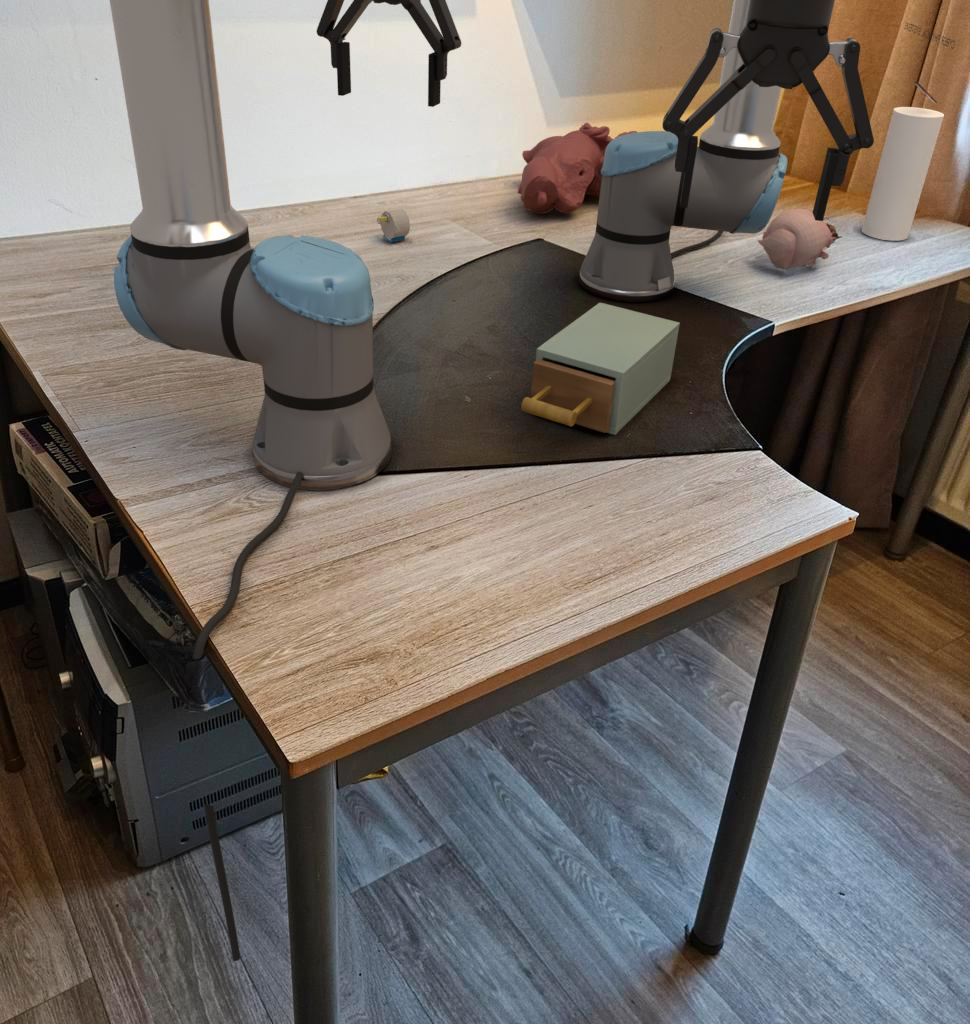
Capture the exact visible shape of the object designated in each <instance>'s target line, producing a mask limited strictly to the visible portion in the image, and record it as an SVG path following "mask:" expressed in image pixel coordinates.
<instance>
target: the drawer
mask: <svg viewBox="0 0 970 1024" xmlns="http://www.w3.org/2000/svg"><path fill="white" fill-rule="evenodd" d="M615 380H616V378H614V377H610V376H607V375H603V374H600V373H596V372H593V371H589V370H586V369H582V368H579V367H575V366H572V365H568V364H565V363H561V362H558V361H554V360H551V359H550V360H549V362H547V361H543V360H540V359H538V360H536V359H535V360H534V362H533V366H532V377H531V389H530V397H529V396H526V397H524V398H523V400H522V402H521V405H520V411H521V412H523V413H526V414H529V415H530V414H531V415H533V416H537V417H539V418H542V419H546V420H549V421H552V422H555V423H558V424H562V425H564V426H568V427H571V428H572V427H573V426H574V425H579V426H581V427H584V428H588V429H591V430H594V431H597V432H600V433H603V434H606V432H607V431H608V430H609V427H610V419H611V412H612V404H613V397H614V389H615Z"/></svg>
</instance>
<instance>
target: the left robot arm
mask: <svg viewBox="0 0 970 1024" xmlns="http://www.w3.org/2000/svg"><path fill="white" fill-rule="evenodd" d="M344 2H345V0H326V3H325V5H324V9H323V12H322V14H321V17H320V20H319V22H318V25H317V27H316V35H317V36H318V37H320V38H324V39H326V40H327V41H328V42H329V44H330V63H331V64H330V65H331V67H332V68H333V69H336V77H337V78H336V79H337V96H342V97H344V96H346V95H349V94H351V93H352V78H351V77H352V74H351V73H352V72H351V44H350V41H346V37H347V35H348V34H349V32H351V30H352V29H353V27H354V26H355V24H356V23H357V22H358V20H359V19H360V17H361V16H362V15H363V13H364V11H365V10H366V9H367V8H368V6H369V5H370V4H371V3H372V2H373V4H384V3H386V4H387V5H390V6H397V5H401V6H402V7H403V8H404V10H406V11H407V12H408V14H409V15H410V17H411V18H412V20H413V21H414V24H416V26H417V28H418V29H419V31H420V32H421V33H422V35H423V37H424V38H425V39H426V41H427V43H428V44H429V46H430V47H431V49H432V50H433V52H431V53H429V54H428V58H427V59H428V65H427V66H428V67H427V68H428V69H427V71H428V72H427V75H428V76H427V77H428V79H427V107H430V108H434V107H435V106H437V105H440V104H441V87H442V85H441V82H442V81H443V80H445V79H447V76H448V54H449V53H450V52H451V51H455V50H456V49H460V48H461V47H462V39H461V36H460V34H459V32H458V30H457V27H456V23H455V22H454V19H453V16H452V14H451V11H450V9H449V8H450V7H449V6H448V3H447V1H446V0H428V2H429V4H430V7H431V10H432V12H433V14H434V18H435V20H436V23H437V25H438V26H437V25H436V24H435V22H434V20H433V19H432V17H431V16H430V15H429V13H428V12H427V10H426V8H425V6H423V4H422V1H421V0H353V1H352V2H351V4H349V6H348V8H347V9H346V11H345V12H344V13H343V14H342V17H340V19H339V18H338V17H339V15H340V13H341V10H342V8H343V5H344ZM109 4H110V5H109V7H110V12H111V17H112V24H113V30H114V36H115V42H116V50H117V56H118V62H119V67H120V74H121V81H122V87H123V94H124V99H125V105H126V106H125V107H126V111H127V119H128V125H129V132H130V136H131V144H132V149H133V150H132V151H133V156H134V162H135V169H136V175H137V181H138V182H137V183H138V187H139V188H138V189H139V195H140V200H141V206H142V210H141V211H140V212H139V214H138V215H137V216H136V217H135V218H134V220H133V221H132V222H131V224H130V225H129V231H130V236H128V237H127V238H126V240H124V242H123V243H122V245H121V246H120V248H119V250H118V252H117V256H116V259H117V261H118V262H119V265H117V266H115V267H114V271H113V287H114V293H115V296H116V300H117V304H118V306H119V309H120V312H121V313H122V315H123V317H124V319H125V320H126V322H127V323H128V325H129V326H130V327H131V328H132V329H133V330H134V331H135V332H136V333H137V334H139V335H140V336H142V337H143V338H145V339H147V340H149V341H151V342H155V343H159V344H163V345H165V346H168V347H169V348H171V349H176V350H178V351H179V350H181V351H187V350H189V351H193V352H197V353H203V354H207V355H213V356H218V357H222V358H227V359H231V360H237V361H243V362H248V363H251V364H252V363H253V364H257V365H259V366H261V370H262V379H263V388H264V390H263V391H264V396H263V400H262V404H261V408H260V412H259V415H258V419H257V423H256V427H255V430H254V434H253V439H252V455H253V460H254V464H255V467H256V468H257V470H258V471H259V472H260V473H261V474H262V475H263V476H265V477H266V478H268V479H269V480H271V481H273V482H275V483H278V484H280V485H283V486H286V487H289V488H288V491H287V493H286V494H285V495H286V496H285V497H284V500H283V503H282V505H281V507H280V510H279V512H278V513H277V514H276V516H275V517H274V519H273V520H272V521H271V523H270V524H268V526H266V527H265V528H264V529H263V530H262V531H260V532H259V533H258V534H257V535H256V536H254V537H253V538H252V539H251V540H250V541H249V542H248V543H246V545H245V547H244V548H243V549H242V550H241V552H240V553H239V555H238V557H237V559H236V561H235V563H234V566H233V570H232V575H231V580H230V587H229V591H228V594H227V598H226V600H225V602H224V604H223V605H222V607H221V608H220V609H219V610H218V611H217V612H216V613H214V614H213V615H212V616H211V617H210V618H209V619H208V620H207V622H206V623H205V624H204V625H203V627H202V629H201V631H200V632H199V634H198V636H197V639H196V640H195V645H194V648H193V652H192V656H191V657H192V659H193V660H199V659H201V658H202V657H203V654H204V651H205V647H206V643H207V641H208V639H209V636H210V635H211V633H212V632H213V631H214V629H215V628H216V627H217V626H218V625H219V624H220V623H221V622H222V621H223V620H224V619H225V618H226V617H227V616H228V615H229V613H231V611H232V609H233V607H234V606H235V603H236V601H237V599H238V597H239V592H240V587H241V582H242V574H243V569H244V566H245V564H246V562H247V559H248V558H249V557H250V555H251V553H252V552H253V551H254V550H255V549H257V547H258V546H260V545H261V544H262V543H263V542H264V541H265V540H267V539H268V538H269V537H270V536H271V535H272V534H274V532H276V530H277V529H278V528H279V527H280V526H281V524H282V523H283V522H284V520H285V519H286V517H287V515H288V513H289V511H290V509H291V506H292V503H293V501H294V498H295V496H296V494H297V491H298V489H301V490H312V491H314V490H315V491H323V490H327V491H328V490H337V489H342V488H348V487H351V486H355V485H358V484H361V483H363V482H366V481H368V480H370V479H373V478H374V477H375V476H377V475H378V474H380V473H381V472H382V471H383V470H384V469H385V468H386V467H387V466H388V464H389V463H390V461H391V458H392V436H391V435H392V434H391V432H390V430H389V427H388V424H387V422H386V419H385V417H384V413H383V411H382V408H381V406H380V403H379V400H378V398H377V395H376V393H375V385H374V320H373V319H374V318H373V317H374V315H373V314H374V308H375V301H374V297H373V292H372V283H371V275H370V270H369V267H368V266H367V264H366V263H365V262H364V260H363V259H362V257H360V256H359V254H357V253H356V252H355V251H353V250H352V249H351V248H348V247H346V246H345V245H344V244H340V243H338V242H335V241H332V240H329V239H325V238H322V237H317V236H311V235H301V236H299V237H297V236H293V235H289V234H287V235H279V236H273V237H269V238H265V239H264V240H262V241H260V242H259V243H258V244H257V245H255V247H254V248H253V247H251V239H250V230H249V223H248V220H247V219H246V217H245V216H244V215H242V214H241V213H240V212H238V211H237V210H236V209H235V208H234V207H233V206H232V203H231V195H230V185H229V176H228V167H227V157H226V148H225V139H224V138H225V137H224V131H223V130H224V129H223V119H222V110H221V100H220V92H219V81H218V73H217V63H216V54H215V46H214V44H215V43H214V36H213V26H212V25H213V24H212V17H211V16H212V15H211V9H210V0H109ZM338 19H339V21H338V22H337V20H338ZM203 807H204V814H205V819H206V825H207V830H208V836H209V841H210V846H211V851H212V856H213V861H214V867H215V872H216V876H217V882H218V887H219V891H220V897H221V902H222V907H223V911H224V917H225V922H226V927H227V928H226V929H227V933H228V938H229V944H230V950H231V951H230V952H231V956H232V960H233V962H238V961H239V960H240V959H241V952H240V951H241V950H240V946H239V940H238V932H237V927H236V922H235V916H234V911H233V910H234V909H233V906H232V900H231V895H230V889H229V884H228V879H227V873H226V869H225V863H224V858H223V853H222V848H221V842H220V837H219V832H218V826H217V820H216V813H215V807H214V805H211V804H206V803H204V804H203Z"/></svg>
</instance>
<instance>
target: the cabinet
mask: <svg viewBox="0 0 970 1024" xmlns="http://www.w3.org/2000/svg"><path fill="white" fill-rule="evenodd" d="M680 324H681V323H680V322H678V321H675V320H672V319H671V320H670V319H666V318H664V317H658V316H655V315H651V314H647V313H643V312H640V311H635V310H631V309H627V308H623V307H619V306H615V305H611V304H607V303H604V302H598V303H597V304H596V305H594V306H593V307H592V308H590V309H588V310H587V311H586V312H585V313H584V314H582V315H580V316H579V317H578V318H576V319H575V320H574V321H573V322H571V323H570V324H568V325H567V326H565V327H564V328H563V329H561V330H560V331H559V332H557V333H556V334H554V335H553V336H552V337H551V338H549V339H548V340H547V341H545V342H543V344H541V345H540V346H538V347H537V348H536V353H535V361H536V360H538V359H540V360H543V361H547V362H549V360H550V359H551V360H554V361H558V362H561V363H565V364H568V365H572V366H575V367H579V368H582V369H586V370H589V371H593V372H596V373H600V374H603V375H607V376H610V377H614V378H616V380H615V389H614V397H613V404H612V412H611V419H610V427H609V430H608V431H607V432H606V433H607V434H609V435H613V436H615V435H617V434H619V432H620V431H621V430H622V429H623V428H624V427H625V426H626V425H627V424H628V423H629V422H630V421H631V420H632V419H634V417H635V416H636V415H637V414H638V413H639V412H640V411H641V410H642V409H643V408H644V407H645V406H646V405H647V404H648V403H649V402H650V401H651V400H653V399H654V397H655V396H656V395H657V394H658V393H659V392H660V391H661V390H662V389H663V388H664V387H666V385H667V384H668V383H669V382H670V381H671V377H672V371H673V366H674V361H675V360H674V359H675V353H676V348H677V342H678V337H679V330H680ZM606 433H605V434H606Z"/></svg>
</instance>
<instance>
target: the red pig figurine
mask: <svg viewBox="0 0 970 1024" xmlns="http://www.w3.org/2000/svg"><path fill="white" fill-rule="evenodd" d="M610 130H611V129H610V127H608V126H607V125H605V126H604V125H602V126H600V127H598V126H592V125H591V124H590V123H589V122H585V123H584V124H581V126H580V127H579V129H576V130H573V131H570V132H568V133H566V134H565V135H554V136H549V137H546V138H544V139H542V140H540V141H539V142H538V143H536V145H535V146H534V147H532V148H531V149H529V150H523V151H522V153H521V156H522V158H523V160H524V162H525V163H526V164H525V166H524V168H523V170H522V172H521V173H522V174H521V180H520V181H521V182H520V185H519V186H518V189H517V194H518V195H520V200H521V202H522V203H523V207H524V209H525V210H529V211H530V212H532V213H535V214H546V213H549V212H551V211H552V210H553V209H554V208H555V209H556V210H557V211H559V212H560V213H564V214H569V213H573V212H575V211H578V209H579V208H581V206H582V203H584V199H585V195H591V196H593V197H596V198H600V190H601V181H602V175H601V169H602V168H603V162H604V156H605V150H606V147H607V145H608V144H609V143H610V142H611V141H612V140H613V139H615V138H617V137H619V136H622V135H626V134H630V133H636V132H638V131H636V130H631V131H628V132H627V131H624V132H621V133H618V135H617V136H615V137H614V138H612V137H611V136H610V135H609V134H610Z"/></svg>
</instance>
